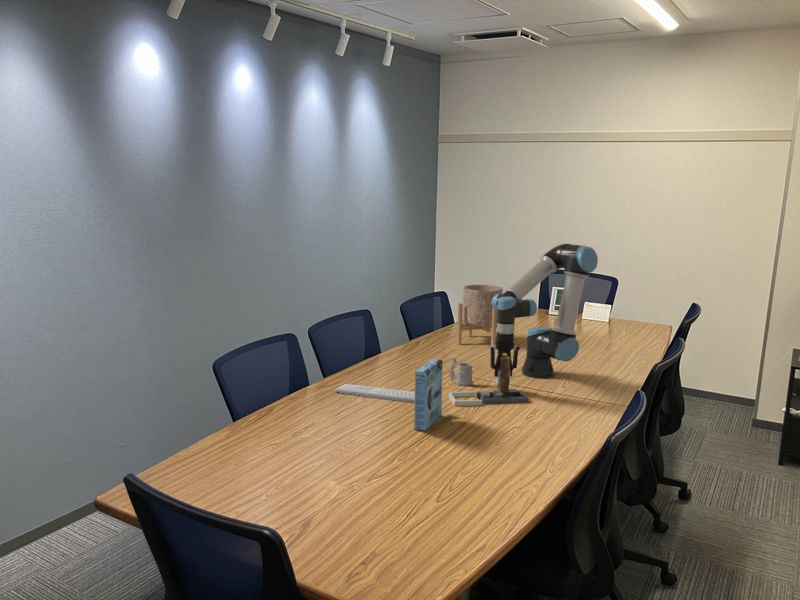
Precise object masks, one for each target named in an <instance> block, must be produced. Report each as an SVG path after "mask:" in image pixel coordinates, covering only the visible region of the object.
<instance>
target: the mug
mask: <svg viewBox="0 0 800 600" xmlns="http://www.w3.org/2000/svg"><path fill="white" fill-rule="evenodd" d="M455 367H457V369H456V373H457V374H455V373H454V369H455ZM449 378H450V381H454V380H455V379H456V380H455V383H456V386H457V387H469V386H473V383H474V382H473V364H471V363H470V362H459V363H457V360H456V358H455V357H453V358H452V362H451V365H450V368H449Z"/></svg>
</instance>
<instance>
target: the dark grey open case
mask: <svg viewBox="0 0 800 600" xmlns="http://www.w3.org/2000/svg"><path fill="white" fill-rule="evenodd" d="M480 392H481V391H477V392H475V397H476V399H477V400H482V405H493V404H494V405H495V404H500V405H501V404H517V403H518V404H520V403H521V404H522V403H523V404H524V403H527V404H528V403H529V396H528V395H526V394H525V393H524V392H523V391H522V390H509V391H501V392H502V393H503V396H502V398H493V391H488V392H489V393H490V398H481V399H480Z"/></svg>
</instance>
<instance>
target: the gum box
mask: <svg viewBox="0 0 800 600" xmlns="http://www.w3.org/2000/svg"><path fill="white" fill-rule="evenodd" d="M414 374H415V375H414V376H415V377H414V378H415V380H414V381H415V382H414V384H415V385H414V392H415V403H414V422H413V423H414V426H413V428H414V430H417V431H422V432H426V431H427V430H428V429H430V427H431V426H432V425H433V424H434V423H435V422H436V421H437V420H438V419H439V418H440V417H441V416H442V410H443V408H442V404H443V359H436V358H431V359H430V360H429V361H427V362H426V363H424V364H423V365H422V366H420V368H418V369H417V370H415V373H414Z"/></svg>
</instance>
